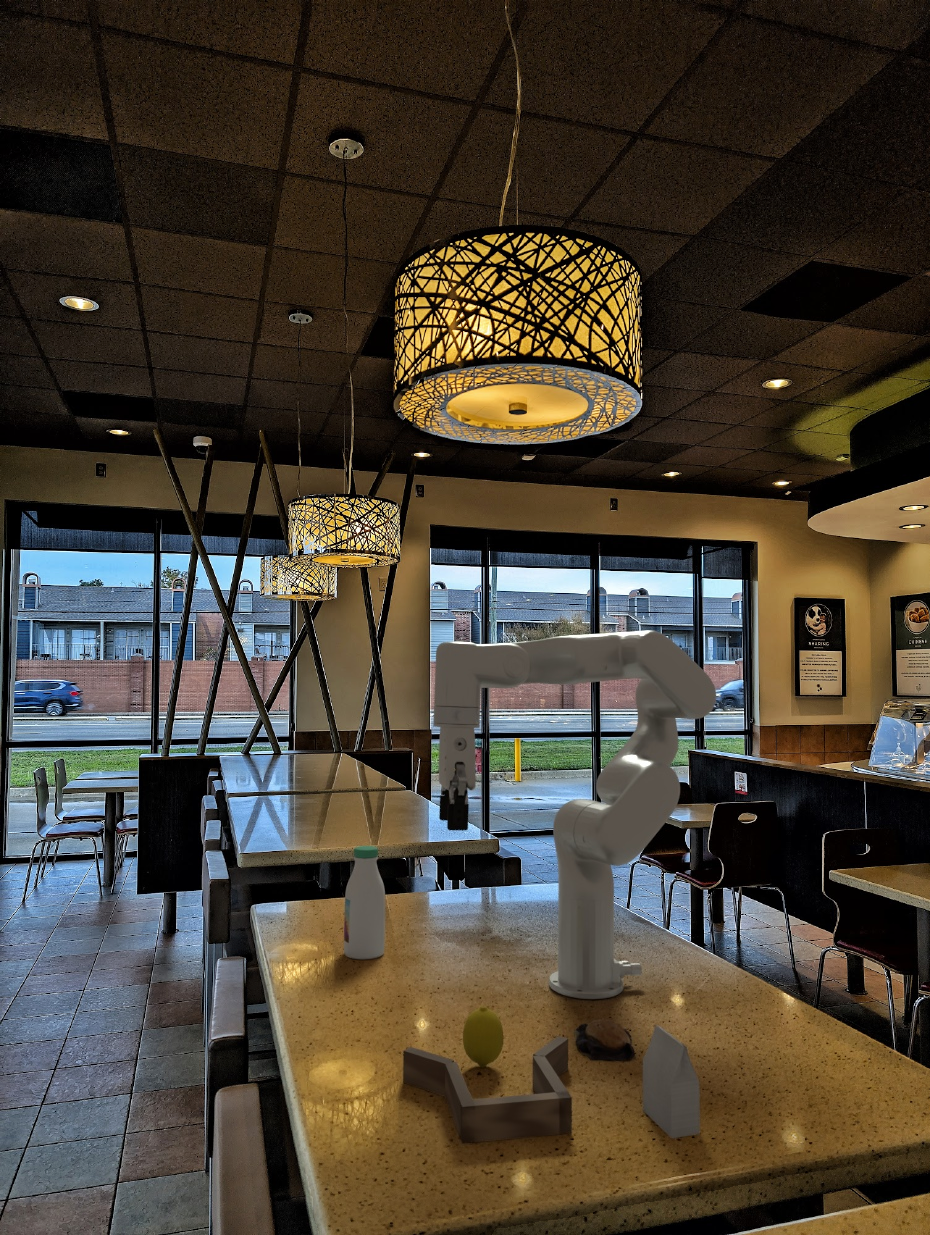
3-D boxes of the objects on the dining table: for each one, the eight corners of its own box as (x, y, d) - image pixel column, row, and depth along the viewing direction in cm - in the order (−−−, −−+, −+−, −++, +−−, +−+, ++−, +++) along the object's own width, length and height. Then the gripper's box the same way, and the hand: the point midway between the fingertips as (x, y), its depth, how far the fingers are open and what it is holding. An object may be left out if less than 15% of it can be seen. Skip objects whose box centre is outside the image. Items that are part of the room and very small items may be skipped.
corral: (565, 1065, 118) (565, 1035, 118) (610, 1129, 101) (610, 1093, 102) (401, 1078, 114) (402, 1047, 114) (420, 1147, 97) (421, 1110, 97)
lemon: (499, 1078, 114) (500, 1015, 115) (458, 1074, 115) (459, 1012, 116) (506, 1060, 120) (506, 1000, 120) (467, 1056, 121) (467, 997, 121)
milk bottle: (391, 951, 167) (393, 845, 168) (371, 963, 160) (372, 852, 161) (357, 945, 170) (359, 842, 172) (335, 957, 163) (337, 849, 165)
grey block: (671, 1138, 100) (670, 1048, 100) (642, 1110, 106) (642, 1026, 107) (699, 1133, 101) (698, 1045, 101) (669, 1106, 107) (669, 1023, 108)
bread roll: (570, 1034, 130) (570, 1009, 130) (626, 1034, 130) (626, 1009, 130) (581, 1065, 119) (580, 1038, 120) (641, 1065, 120) (641, 1037, 120)
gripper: (489, 720, 133) (485, 834, 131) (470, 716, 150) (467, 817, 148) (440, 719, 131) (436, 834, 130) (427, 715, 149) (424, 816, 147)
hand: (453, 825), depth 139 cm, fingers open, 9 cm apart
